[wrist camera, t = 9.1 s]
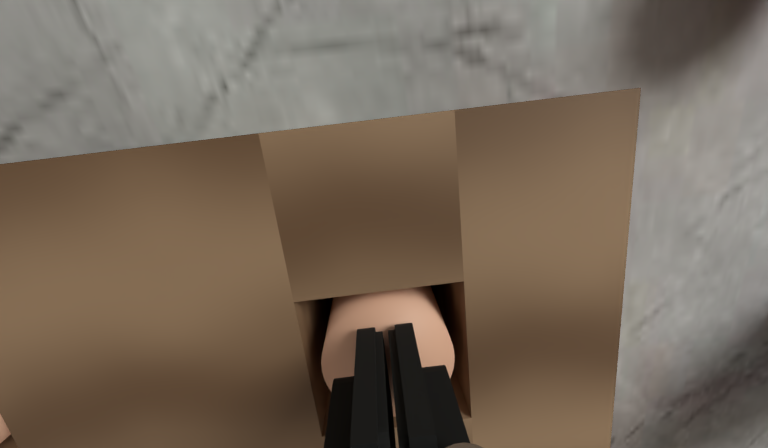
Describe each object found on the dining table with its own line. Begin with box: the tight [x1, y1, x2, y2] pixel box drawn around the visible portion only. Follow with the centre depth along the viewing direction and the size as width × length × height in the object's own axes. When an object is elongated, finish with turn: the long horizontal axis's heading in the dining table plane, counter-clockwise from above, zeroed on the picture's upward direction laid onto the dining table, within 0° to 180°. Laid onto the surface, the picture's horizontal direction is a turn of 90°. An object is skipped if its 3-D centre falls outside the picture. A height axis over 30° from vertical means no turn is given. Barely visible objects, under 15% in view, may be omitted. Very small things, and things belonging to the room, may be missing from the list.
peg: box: [321, 285, 455, 417], centre depth 14 cm, size 4×4×8 cm
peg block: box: [0, 88, 641, 448], centre depth 14 cm, size 14×28×8 cm, turn 97°
